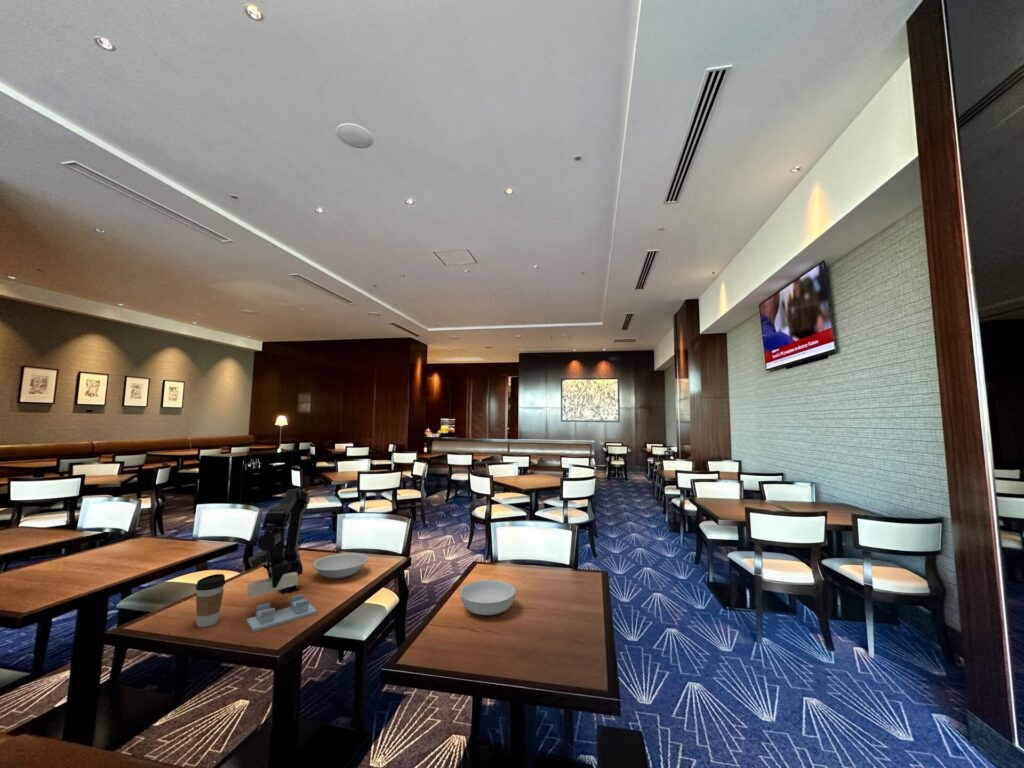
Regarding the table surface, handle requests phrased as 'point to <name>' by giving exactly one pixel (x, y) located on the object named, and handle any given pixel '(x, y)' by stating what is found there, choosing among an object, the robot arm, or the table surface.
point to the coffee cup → (209, 599)
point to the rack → (280, 614)
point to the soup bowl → (340, 564)
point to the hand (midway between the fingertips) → (273, 586)
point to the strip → (267, 586)
